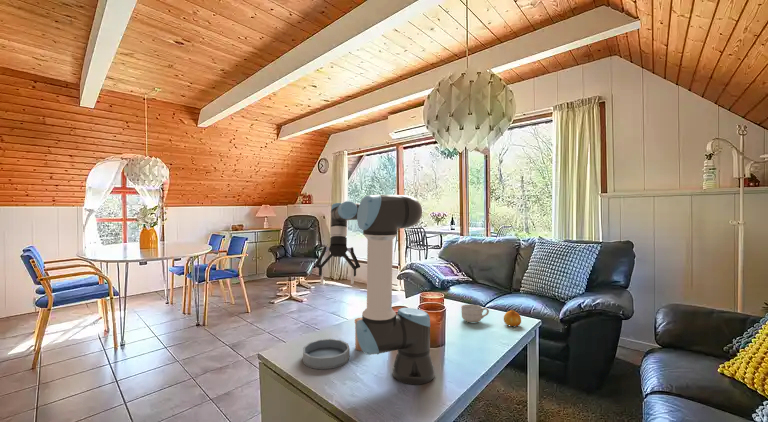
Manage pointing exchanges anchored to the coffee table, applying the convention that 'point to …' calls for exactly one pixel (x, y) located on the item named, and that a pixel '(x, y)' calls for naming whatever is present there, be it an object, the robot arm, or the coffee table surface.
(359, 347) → the terracotta jar
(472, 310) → the teacup
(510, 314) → the fruit
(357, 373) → the coffee table surface
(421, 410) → the coffee table surface
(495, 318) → the coffee table surface
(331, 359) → the slate bowl
